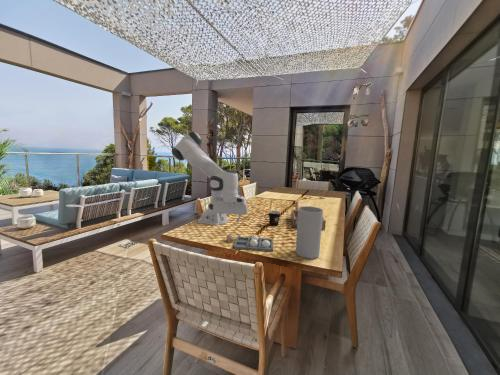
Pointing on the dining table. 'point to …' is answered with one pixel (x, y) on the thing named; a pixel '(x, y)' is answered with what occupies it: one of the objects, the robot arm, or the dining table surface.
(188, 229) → the dining table surface
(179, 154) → the robot arm
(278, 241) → the dining table surface
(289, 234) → the dining table surface
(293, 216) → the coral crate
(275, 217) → the coffee mug
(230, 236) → the brown egg
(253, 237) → the cream egg
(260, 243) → the egg tray
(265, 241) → the cream egg
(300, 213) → the cylinder vase
